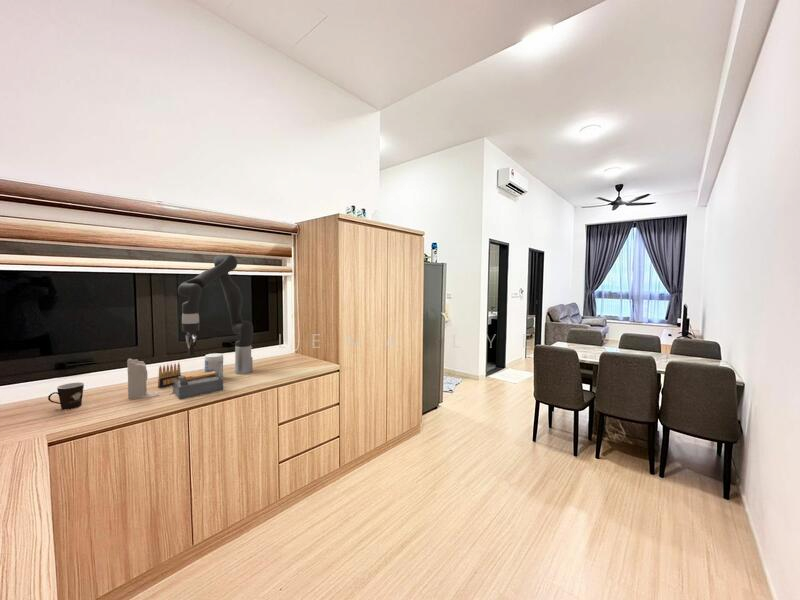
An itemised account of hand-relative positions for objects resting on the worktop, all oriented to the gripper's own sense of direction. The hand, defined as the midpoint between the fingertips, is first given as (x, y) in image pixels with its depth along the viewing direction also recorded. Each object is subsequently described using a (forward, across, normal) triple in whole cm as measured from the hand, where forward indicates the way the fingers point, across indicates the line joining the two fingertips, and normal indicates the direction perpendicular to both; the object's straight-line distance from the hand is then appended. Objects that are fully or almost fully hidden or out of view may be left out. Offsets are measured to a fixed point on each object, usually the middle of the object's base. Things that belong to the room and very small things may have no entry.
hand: (191, 354), depth 169 cm
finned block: (+20, 0, -3) cm, 20 cm away
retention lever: (+12, 0, -4) cm, 13 cm away
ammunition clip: (+20, +20, +6) cm, 29 cm away
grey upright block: (+20, +9, +18) cm, 29 cm away
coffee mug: (+20, +13, +46) cm, 52 cm away
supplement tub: (+20, +16, -15) cm, 30 cm away
